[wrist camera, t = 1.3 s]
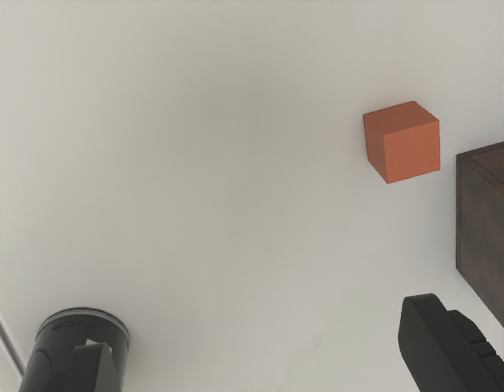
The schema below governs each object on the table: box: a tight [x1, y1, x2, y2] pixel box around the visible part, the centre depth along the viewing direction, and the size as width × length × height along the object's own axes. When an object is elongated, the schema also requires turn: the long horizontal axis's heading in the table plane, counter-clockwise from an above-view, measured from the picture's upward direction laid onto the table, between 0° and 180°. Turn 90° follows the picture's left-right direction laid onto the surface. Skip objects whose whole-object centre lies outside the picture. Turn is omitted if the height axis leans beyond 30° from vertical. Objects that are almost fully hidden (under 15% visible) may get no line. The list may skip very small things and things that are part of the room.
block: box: [363, 101, 440, 184], centre depth 39 cm, size 5×5×5 cm
